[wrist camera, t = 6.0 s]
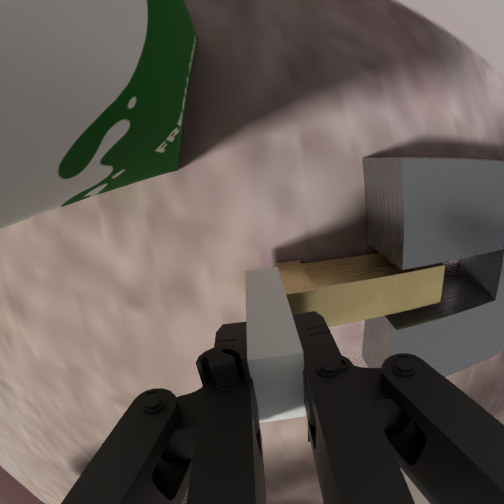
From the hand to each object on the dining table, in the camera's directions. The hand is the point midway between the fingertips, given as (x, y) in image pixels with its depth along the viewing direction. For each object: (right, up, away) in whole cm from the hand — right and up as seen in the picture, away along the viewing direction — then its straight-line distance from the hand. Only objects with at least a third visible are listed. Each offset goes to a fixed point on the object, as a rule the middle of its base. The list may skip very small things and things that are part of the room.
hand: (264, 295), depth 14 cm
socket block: (+15, +2, +1) cm, 15 cm away
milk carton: (-7, +10, -1) cm, 12 cm away
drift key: (+5, +1, +1) cm, 5 cm away
